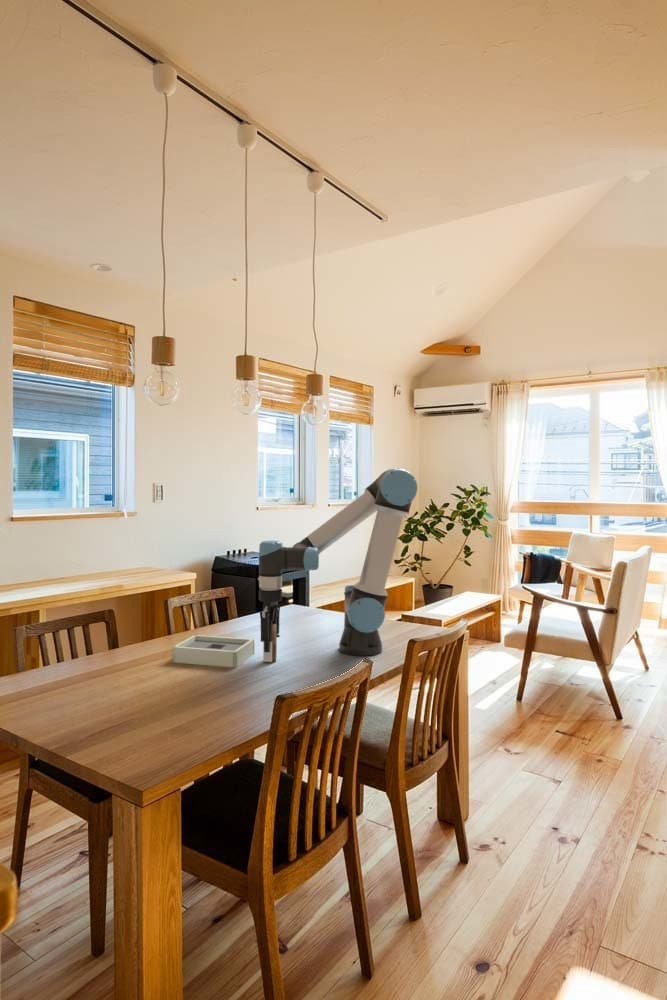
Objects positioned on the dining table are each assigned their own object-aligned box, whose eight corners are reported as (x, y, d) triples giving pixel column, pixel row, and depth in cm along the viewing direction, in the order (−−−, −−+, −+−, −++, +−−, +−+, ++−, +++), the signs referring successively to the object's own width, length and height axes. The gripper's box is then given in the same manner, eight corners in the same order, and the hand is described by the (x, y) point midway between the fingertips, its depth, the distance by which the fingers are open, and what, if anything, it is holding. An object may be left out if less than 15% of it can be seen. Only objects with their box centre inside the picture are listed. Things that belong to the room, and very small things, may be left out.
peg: (277, 659, 200) (278, 623, 200) (273, 663, 196) (274, 626, 196) (266, 659, 201) (266, 623, 201) (262, 662, 197) (262, 625, 197)
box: (254, 653, 207) (254, 639, 207) (235, 667, 191) (236, 652, 191) (195, 649, 212) (195, 634, 212) (172, 662, 197) (172, 647, 196)
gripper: (268, 583, 207) (268, 651, 208) (250, 592, 191) (249, 666, 191) (289, 584, 205) (288, 653, 206) (272, 593, 189) (272, 668, 190)
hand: (270, 659), depth 199 cm, fingers closed on peg, 4 cm apart
